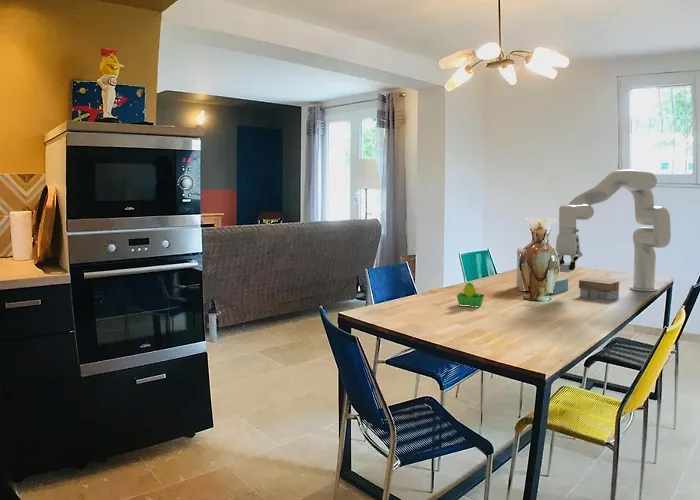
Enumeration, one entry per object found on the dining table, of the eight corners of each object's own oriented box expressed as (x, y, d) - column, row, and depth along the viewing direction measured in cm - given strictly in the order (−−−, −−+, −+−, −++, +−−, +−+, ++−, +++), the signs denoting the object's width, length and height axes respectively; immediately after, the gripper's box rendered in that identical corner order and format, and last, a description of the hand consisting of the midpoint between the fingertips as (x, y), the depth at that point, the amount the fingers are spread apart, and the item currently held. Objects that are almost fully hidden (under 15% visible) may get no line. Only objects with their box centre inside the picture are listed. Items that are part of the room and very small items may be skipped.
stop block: (562, 289, 281) (562, 277, 280) (567, 290, 279) (568, 278, 278) (548, 293, 272) (548, 281, 271) (554, 294, 269) (554, 282, 269)
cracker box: (531, 292, 276) (532, 251, 273) (518, 291, 277) (519, 251, 274) (527, 287, 289) (528, 248, 287) (516, 286, 290) (516, 247, 288)
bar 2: (587, 294, 269) (587, 286, 268) (595, 295, 266) (596, 287, 265) (579, 297, 262) (580, 288, 262) (588, 298, 259) (588, 289, 259)
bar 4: (610, 297, 261) (610, 289, 260) (618, 298, 257) (618, 290, 257) (599, 299, 256) (599, 291, 255) (607, 300, 253) (607, 292, 252)
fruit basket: (484, 305, 247) (485, 280, 246) (480, 309, 239) (481, 284, 238) (460, 303, 252) (460, 279, 251) (455, 307, 244) (455, 282, 243)
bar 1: (566, 269, 265) (566, 262, 264) (574, 270, 262) (574, 263, 261) (559, 271, 259) (559, 264, 258) (568, 272, 256) (568, 265, 256)
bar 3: (598, 295, 265) (598, 287, 264) (606, 296, 262) (606, 288, 261) (589, 298, 259) (590, 289, 258) (598, 299, 256) (598, 290, 255)
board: (587, 285, 268) (587, 277, 268) (618, 289, 257) (619, 281, 257) (578, 288, 262) (579, 280, 262) (610, 292, 251) (611, 283, 251)
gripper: (588, 231, 254) (588, 269, 256) (554, 230, 267) (554, 266, 269) (581, 232, 249) (580, 272, 251) (546, 231, 262) (546, 268, 264)
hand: (567, 268), depth 260 cm, fingers closed on bar 1, 4 cm apart
